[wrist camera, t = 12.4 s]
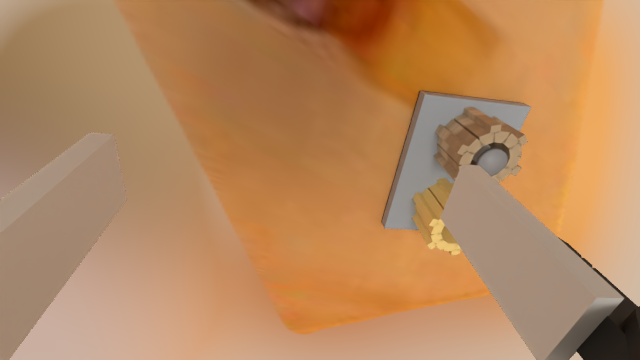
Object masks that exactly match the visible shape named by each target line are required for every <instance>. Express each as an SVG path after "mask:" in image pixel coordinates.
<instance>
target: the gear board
mask: <svg viewBox="0 0 640 360" xmlns="http://www.w3.org/2000/svg"><path fill="white" fill-rule="evenodd" d="M466 107H475V108H476V109H478V110H479V111H481V112H482V113H484V114H486V115H487V116H489V117H490V118H491V117H493V116H495V117H496V118H498V119H500V120H501V121H503V122H505V123H506V124H508V125H510V126H511V127H513V128H514V129H516V130H518V131H520V129H521V127H522V125H523V123H524V121H525V119H526V117H527V115H528V113H529V110H530V108H531V107H530V106H528V105H526V104H524V103H517V102H509V101H500V100H492V99H484V98H475V97H467V96H459V95H450V94H442V93H434V92H425V91H420V94H419V97H418V101H417V104H416V107H415V111H414V114H413V117H412V121H411V124H410V128H409V131H408V134H407V138H406V141H405V145H404V148H403V151H402V155H401V158H400V162H399V165H398V168H397V172H396V175H395V179H394V182H393V185H392V189H391V192H390V196H389V199H388V202H387V206H386V209H385V212H384V216H383V219H382V224H383V226H384V228H389V229H409V230H419V229H418V227H417V225H416V224H415V222H414V220H413V218H412V216H414V215H415V214H416V211H415V204H416V203H415V202H414V200H413V199H412V198H413V197H414V195H415V194H416V192H418V193H422V192H423V191H424V190H425V189H427V188H428V189H429V187H430V186H432V185H435V184H437V179H440V178H446V179H447V180H448V181H449V183H453V184H454V183H455V181H454V180H453V179H452V178H451V176H450V175H449V174H448V173H447V172H446V171H445V170H444V168H443V167H442V166H441V165H440V164H439V163H438V162H437V160H436V159H435V157H434V156H433V155H435V154H436V153H438V152H439V151H438V147H437V144H438V143H437V141H438V138H439V135H438V134H437V133H436V132H435V131H436V129H437V128H438V126H439V125H440V124H441V125H443V126H446V125H447V124H448V123H449V122H450V121H451V119H453V120H454V117H457V116H459V115H462V114H463V112H464V108H466ZM454 121H455V120H454ZM472 160H473V161H475V162H476V165H479V166H480V167H481V168H482V169H483V170H485V171H486V172H487V173H488V174H489V175H490V176H491V175H495V174H497V173H499V172H500V171H501V170H502V169H503V168H504V167H505V166H506V164H507V160H508V158H507V155H506V153H505V152H504V151H502V150H501V149H499V148H491V147H490V146H489V145H485V146H483V147H482V148H480V149H479V150H478V151H477V152H476V153H475V154H474V156H473V158H472ZM429 190H430V189H429ZM445 227H446V226H445Z"/></svg>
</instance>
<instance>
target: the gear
mask: <svg viewBox="0 0 640 360" xmlns="http://www.w3.org/2000/svg"><path fill="white" fill-rule="evenodd" d="M454 120H455V121H454ZM454 120H453V119H451V121H450V122H449V123H448V124H447V125H446V126H443V125H441V124H440V125H439V126H438V128H437V129H436V131H435V132H436V133H437V134H438V135H439V138H438V141H437V143H438V144H437V147H438V151H439V152H438V153H436V154H435V155H433V156H434V157H435V159H436V160H437V162H438V163H439V164H440V165H441V166H442V167H443V168H444V170H445V171H446V172H447V173H448V174H449V175H450V176H451V178H452V179H453V180H454V181H455V180H456V178H457V175H458V173H459V170H460V168H461V165H462V164H467V165H476V162H475V161H473V160H472V158H473V156H474V154H475V153H476V152H477V151H478V150H479V149H480V148H482V147H483V146H485V145H489V146H490V147H491V148H499V149H501V150H502V151H504V152H505V153H506V155H507V158H508V160H507V164H506V166H505V167H504V168H503V169H502V170H501V171H500V172H499V173H497V174H495V175H491V177H492V178H493V179H494V180H496V181H497V182H498V183H499V182H500V180H502V181H503V180H504V179H505V178H506V177H507V176H509V175H510V174H512V175H514V176H516V174H517V173H518V172H519V171H520V170H521V167H520V166H518V165H517V164H518V162H519V160H520V158H521V156H520V155H522V152H521V146H522V145H524V144H525V143H527V142H528V141H527V139H526V137H525V135H524V134H523V133H521V132H519V131H518V130H516V129H514V128H513V127H511V126H510V125H508V124H506V123H505V122H503V121H501V120H500V119H498V118H496V117H495V116H493V117H491V118H490V117H489V116H487V115H486V114H484V113H482V112H481V111H479V110H478V109H476V108H475V107H466V108H464V112H463V114H462V115H459V116H457V117H454Z"/></svg>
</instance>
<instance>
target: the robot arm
mask: <svg viewBox="0 0 640 360" xmlns="http://www.w3.org/2000/svg"><path fill="white" fill-rule="evenodd" d="M126 201H127V197H126V192H125V186H124V181H123V176H122V171H121V166H120V160H119V155H118V150H117V145H116V140H115V135H114V134H103V133H89V134H87V135H86V136H85V137H83V138H82V139H81V140H80V141H78V142H77V143H75V144H74V145H73V146H71V147H70V148H69V149H67V150H66V151H65V152H63V153H62V154H61V155H59V156H58V157H57V158H55V159H54V160H53V161H51V162H50V163H49V164H47V165H46V166H45V167H43V168H42V169H41V170H39V171H38V172H37V173H35V174H34V175H33V176H31V177H30V178H29V179H27V180H26V181H25V182H23V183H22V184H21V185H19V186H18V187H16V188H15V189H14V190H12V191H11V192H10V193H8V194H7V195H6V196H4V197H3V198H2V199H0V360H9V359H10V358H11V356H12V355H13V354H14V352H15V351H16V350H17V348H18V347H19V346H20V344H21V343H22V342H23V340H24V339H25V338H26V336H27V335H28V333H29V332H30V330H31V329H32V328H33V327H34V325H35V324H36V323H37V321H38V320H39V318H40V317H41V316H42V315H43V313H44V312H45V311H46V309H47V308H48V306H49V305H50V304H51V302H52V301H53V300H54V298H55V297H56V295H57V294H58V293H59V292H60V290H61V289H62V287H63V286H64V285H65V283H66V282H67V281H68V279H69V278H70V277H71V275H72V274H73V273H74V271H75V270H76V269H77V267H78V266H79V265H80V263H81V262H82V260H83V259H84V258H85V256H86V255H87V254H88V252H89V251H90V250H91V248H92V247H93V246H94V244H95V243H96V242H97V240H98V239H99V237H100V236H101V234H102V233H103V232H104V231H105V229H106V228H107V227H108V225H109V224H110V223H111V221H112V220H113V218H114V217H115V216H116V214H117V213H118V212H119V210H120V209H121V207H122V206H123V205H124V204H125V202H126ZM440 218H441V220H442V221H443V223H444V224H445V226H446V227H447V229H448V230H449V232H450V233H451V235H452V236H453V238H454V239H455V240H456V242H457V243H458V245H459V246H460V248H461V249H462V251H463V252H464V254H465V255H466V257H467V258H468V260H469V261H470V263H471V264H472V266H473V267H474V269H475V270H476V271H477V273H478V274H479V276H480V277H481V279H482V280H483V282H484V283H485V285H486V286H487V288H488V289H489V291H490V292H491V294H492V295H493V297H494V298H495V299H496V301H497V302H498V304H499V305H500V307H501V308H502V310H503V311H504V313H505V314H506V316H507V317H508V319H509V320H510V321H511V323H512V324H513V326H514V328H515V329H516V331H517V332H518V333H519V335H520V336H521V338H522V339H523V341H524V342H525V344H526V345H527V347H528V348H529V350H530V351H531V353H532V354H533V356H534V357H535V358H536V360H569V359H570V358H571V357H572V356H573V355H574V354H575V352H576V351H577V352H578V353H579V355H580V356H581V357H582V358H583V360H640V306H639V307H638V306H636V305H635V304H634V303H633V302H632V301H631V300H630V299H629V298H628V297H626V296H625V295H624V294H623V293H622V292H621V291H620V290H619V289H618V288H617V287H616V286H614V285H613V284H612V283H611V282H610V281H609V280H608V279H607V278H606V277H604V276H603V275H602V274H601V273H600V272H599V271H598V270H597V269H596V268H592V265H591V264H590V263H589V262H588V261H587V260H586V259H584V258H581V255H580V254H579V253H578V252H577V251H576V250H574V249H573V248H572V247H571V246H570V245H569V244H568V243H566V242H564V241H563V240H561V239H560V238H558V237H557V236H556V235H555V234H554V233H552V232H551V231H550V230H549V229H548V228H547V227H546V226H545V225H544V224H543V223H542V222H540V221H539V220H538V219H537V218H536V217H535V216H534V215H533V214H532V213H531V212H529V211H528V210H527V209H526V208H525V207H524V206H523V205H522V204H521V203H520V202H519V201H517V200H516V199H515V198H514V197H513V196H512V195H511V194H510V193H509V192H508V191H506V190H505V189H504V188H503V187H502V186H501V185H500V184H499V183H498V182H497V181H496V180H494V179H493V178H492V177H491V176H490V175H489V174H488V173H487V172H486V171H485V170H483V169H482V168H481V167H480V166H479V165H467V164H462V165H461V168H460V170H459V173H458V175H457V178H456V180H455V183H454V185H453V188H452V190H451V192H450V195H449V197H448V200H447V202H446V205H445V207H444V210H443V212H442V215H441V217H440Z"/></svg>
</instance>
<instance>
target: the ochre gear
mask: <svg viewBox="0 0 640 360" xmlns="http://www.w3.org/2000/svg"><path fill="white" fill-rule="evenodd" d="M453 185H454V184H453V183H449V181H448V180H447V179H446V178H440V179H437V184H435V185H432V186H430V187H429V189H430V190H429V189H428V188H427V189H425V190H424V191H423V192H422V193H418V192H416V194H415V195H414V197H413V198H412V199H413V200H414V202H415V203H416V204H415V211H416V214H415V215H414V216H412V218H413V220H414V222H415V224H416V225H417V227H418V229H419V231H420V233H421V234H422V236H423V238H424V240H425V242H426V243H427V245H428V246H429V248H430V249H433V248H435V247H438V248H439V249H441V250H443V251H449V253H450V254H451V255H456V254H459V252H460V250H461V248H460V246H459V245H458V243H457V242H456V240H455V239H454V238H453V236H452V235H451V233H450V232H449V230H448V229H447V227H445V224H444V223H443V221H442V220H441V218H440V217H441V215H442V212H443V210H444V207H445V205H446V202H447V200H448V197H449V195H450V192H451V190H452V188H453Z"/></svg>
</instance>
